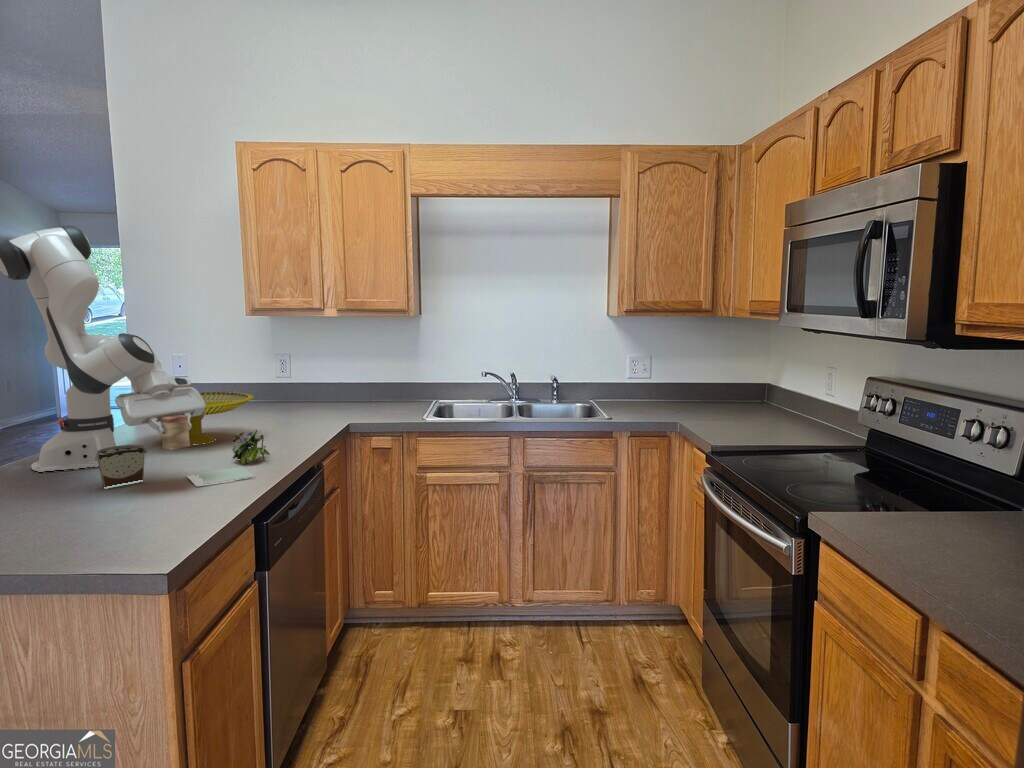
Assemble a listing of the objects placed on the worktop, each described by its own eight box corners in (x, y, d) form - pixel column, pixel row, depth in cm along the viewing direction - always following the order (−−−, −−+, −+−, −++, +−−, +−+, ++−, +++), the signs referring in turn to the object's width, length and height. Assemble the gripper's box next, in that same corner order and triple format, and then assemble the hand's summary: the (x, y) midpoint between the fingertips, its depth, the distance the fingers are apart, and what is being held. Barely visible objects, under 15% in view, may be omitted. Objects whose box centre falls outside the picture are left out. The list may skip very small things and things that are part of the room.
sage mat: (196, 487, 171) (196, 485, 171) (185, 477, 181) (185, 475, 181) (255, 478, 180) (255, 476, 180) (241, 468, 190) (241, 466, 190)
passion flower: (240, 477, 201) (239, 442, 206) (276, 469, 202) (273, 435, 207) (226, 465, 191) (225, 428, 196) (264, 457, 192) (261, 421, 197)
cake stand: (207, 458, 203) (204, 411, 201) (98, 452, 211) (94, 406, 209) (278, 432, 242) (276, 393, 240) (183, 428, 250) (181, 390, 248)
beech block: (170, 449, 165) (168, 419, 164) (162, 447, 167) (160, 417, 166) (189, 446, 169) (187, 416, 168) (181, 444, 171) (179, 414, 170)
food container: (140, 477, 181) (137, 442, 179) (149, 481, 177) (146, 445, 176) (90, 486, 171) (86, 450, 170) (98, 491, 167) (95, 453, 166)
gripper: (115, 387, 162) (137, 430, 157) (195, 378, 178) (217, 417, 174) (109, 403, 165) (130, 445, 160) (188, 393, 181) (209, 431, 177)
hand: (176, 430), depth 167 cm, fingers closed on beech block, 5 cm apart
